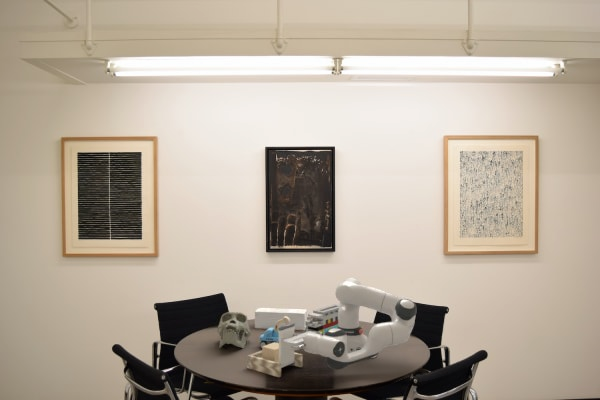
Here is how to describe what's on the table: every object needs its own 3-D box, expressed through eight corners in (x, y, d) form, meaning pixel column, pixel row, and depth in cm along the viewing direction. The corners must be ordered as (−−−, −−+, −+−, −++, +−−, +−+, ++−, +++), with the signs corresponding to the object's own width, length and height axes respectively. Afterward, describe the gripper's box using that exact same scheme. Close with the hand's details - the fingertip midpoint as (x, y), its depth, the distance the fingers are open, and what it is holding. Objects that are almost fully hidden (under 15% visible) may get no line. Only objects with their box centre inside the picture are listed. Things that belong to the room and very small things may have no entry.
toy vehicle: (304, 338, 284) (304, 312, 284) (334, 327, 308) (334, 304, 308) (315, 340, 279) (315, 315, 279) (344, 329, 303) (344, 306, 302)
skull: (217, 354, 278) (210, 340, 254) (223, 318, 289) (216, 302, 265) (249, 356, 277) (245, 343, 253) (254, 320, 288) (250, 305, 264)
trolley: (295, 366, 235) (295, 322, 235) (279, 373, 226) (280, 327, 226) (273, 360, 244) (273, 318, 244) (257, 367, 234) (257, 323, 234)
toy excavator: (287, 350, 261) (287, 319, 261) (258, 348, 265) (258, 317, 264) (291, 345, 270) (291, 315, 270) (262, 344, 273) (262, 313, 273)
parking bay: (302, 366, 237) (302, 354, 237) (278, 377, 222) (278, 364, 222) (271, 358, 249) (271, 346, 249) (247, 367, 235) (247, 355, 235)
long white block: (306, 326, 312) (306, 309, 312) (304, 330, 301) (304, 313, 301) (258, 324, 317) (258, 307, 317) (254, 328, 306) (254, 311, 306)
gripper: (297, 355, 214) (273, 349, 222) (323, 344, 230) (300, 339, 239) (297, 341, 214) (273, 335, 222) (323, 331, 230) (300, 326, 238)
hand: (288, 337), depth 231 cm, fingers open, 8 cm apart
